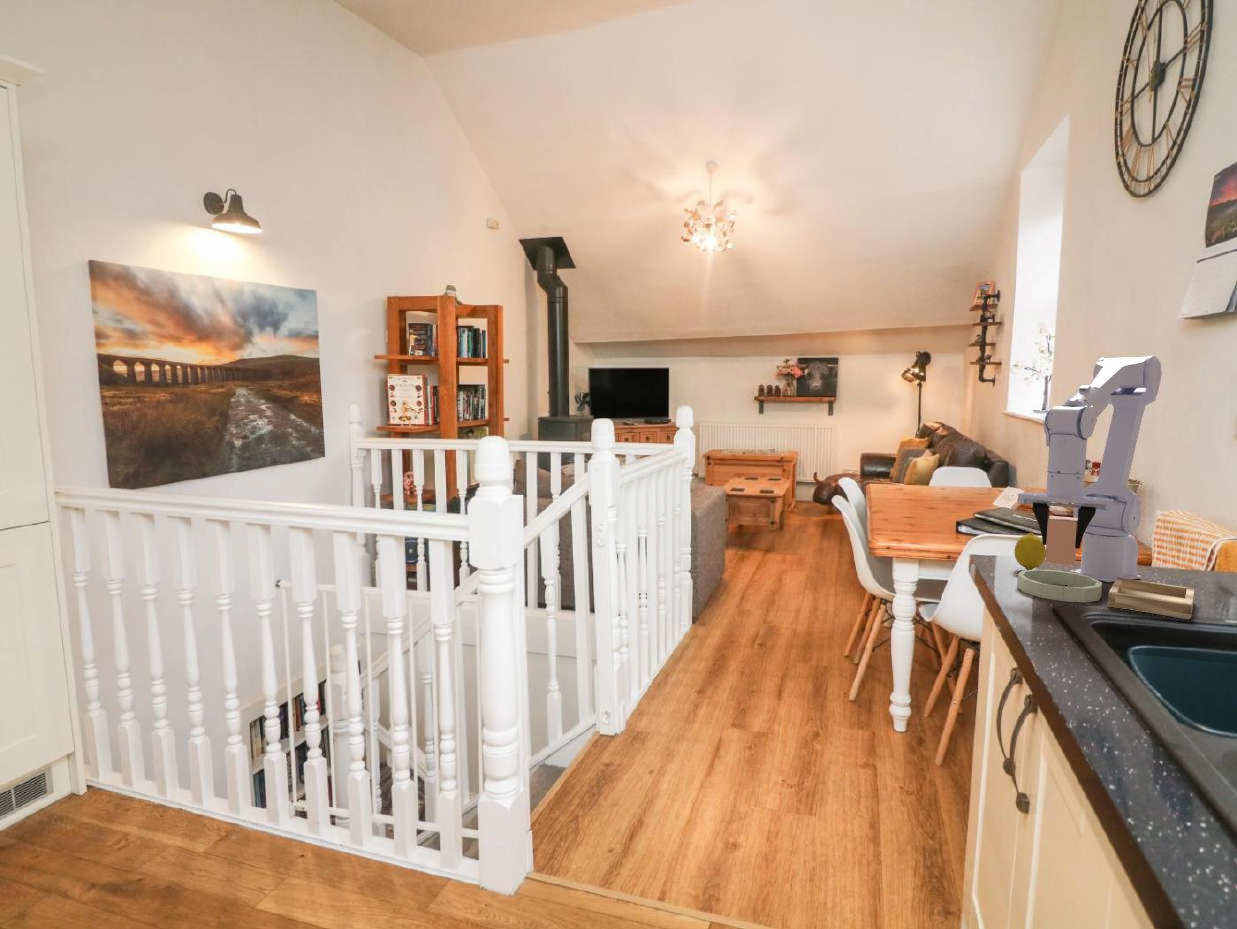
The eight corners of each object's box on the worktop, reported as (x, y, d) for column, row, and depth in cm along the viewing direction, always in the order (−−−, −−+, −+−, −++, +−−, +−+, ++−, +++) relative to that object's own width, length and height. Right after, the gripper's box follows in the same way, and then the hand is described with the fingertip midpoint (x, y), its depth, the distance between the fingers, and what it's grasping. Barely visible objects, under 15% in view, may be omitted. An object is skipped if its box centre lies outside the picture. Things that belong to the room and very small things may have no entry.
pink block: (1047, 557, 129) (1050, 515, 128) (1075, 560, 127) (1078, 518, 126) (1045, 562, 126) (1047, 519, 125) (1073, 565, 123) (1076, 521, 122)
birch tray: (1116, 590, 127) (1117, 577, 127) (1193, 602, 120) (1194, 588, 120) (1107, 606, 118) (1108, 592, 118) (1190, 620, 111) (1191, 605, 110)
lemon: (1016, 573, 140) (1018, 534, 139) (1011, 566, 145) (1013, 529, 144) (1047, 575, 138) (1050, 536, 137) (1041, 568, 143) (1043, 531, 142)
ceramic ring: (1052, 579, 135) (1053, 567, 135) (1117, 597, 123) (1118, 584, 123) (1002, 585, 131) (1003, 572, 131) (1064, 605, 119) (1065, 591, 119)
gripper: (1017, 471, 126) (1013, 544, 127) (1114, 477, 117) (1109, 555, 118) (1022, 468, 131) (1018, 538, 133) (1115, 473, 123) (1109, 547, 124)
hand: (1061, 545), depth 126 cm, fingers closed on pink block, 4 cm apart
